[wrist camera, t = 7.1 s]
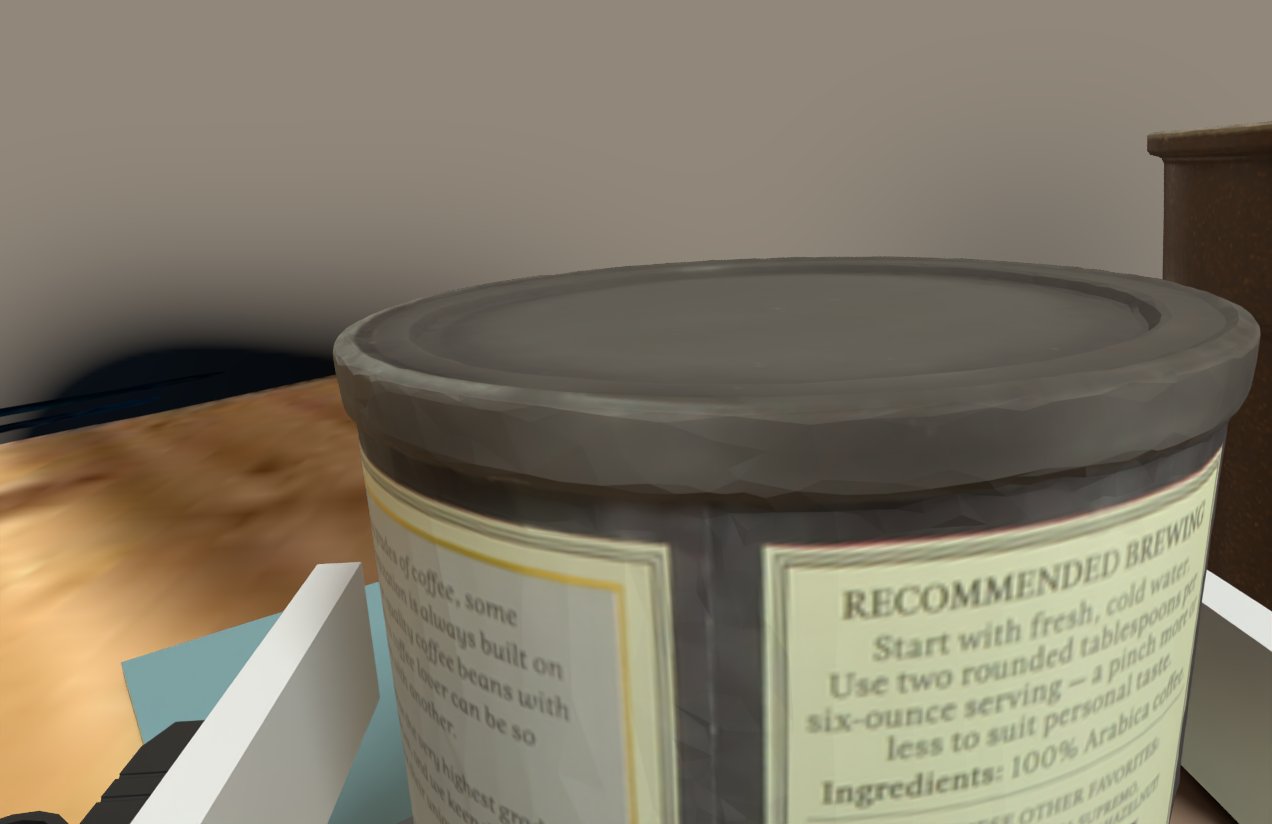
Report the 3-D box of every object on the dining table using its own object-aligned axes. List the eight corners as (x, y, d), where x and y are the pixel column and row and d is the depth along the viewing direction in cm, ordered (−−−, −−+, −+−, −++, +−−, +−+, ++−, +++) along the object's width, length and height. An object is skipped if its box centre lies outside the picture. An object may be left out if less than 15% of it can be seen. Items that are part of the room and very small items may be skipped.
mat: (208, 974, 18) (203, 951, 17) (124, 678, 28) (121, 662, 28) (715, 710, 25) (715, 692, 25) (497, 557, 36) (496, 544, 36)
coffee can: (711, 811, 22) (700, 246, 18) (1182, 1093, 15) (1328, 268, 11) (332, 1145, 14) (177, 319, 11) (903, 2004, 7) (1049, 520, 4)
